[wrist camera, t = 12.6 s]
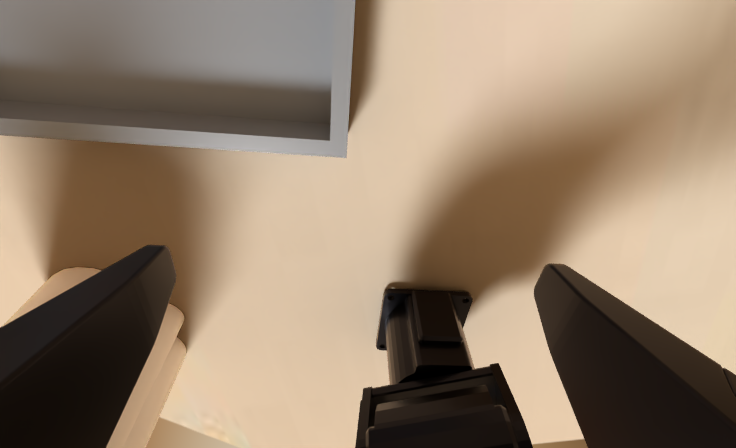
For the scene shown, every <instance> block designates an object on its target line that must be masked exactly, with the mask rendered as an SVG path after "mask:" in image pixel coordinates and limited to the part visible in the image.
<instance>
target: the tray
mask: <svg viewBox="0 0 736 448" xmlns="http://www.w3.org/2000/svg"><path fill="white" fill-rule="evenodd" d="M354 17H355V0H0V135H5V136H21V137H36V138H51V139H66V140H81V141H97V142H112V143H127V144H142V145H157V146H173V147H188V148H203V149H218V150H234V151H249V152H264V153H279V154H294V155H310V156H325V157H340V158H347V140H348V123H349V105H350V87H351V70H352V52H353V35H354Z"/></svg>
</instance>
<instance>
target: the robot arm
mask: <svg viewBox="0 0 736 448" xmlns="http://www.w3.org/2000/svg"><path fill="white" fill-rule="evenodd" d="M175 282H176V270H175V267H174V263H173V260H172V256H171V253H170V250H169V248H168V247H167V246H164V245H147V246H145V247H143V248H141V249H139V250H138V251H136V252H134V253H132V254H130V255H129V256H127V257H125V258H123V259H122V260H120V261H118V262H116V263H114V264H113V265H111V266H109V267H107V268H105V269H104V270H102V271H100V272H98V273H97V274H95V275H93V276H91V277H89V278H88V279H86V280H84V281H82V282H81V283H79V284H77V285H75V286H73V287H72V288H70V289H68V290H66V291H65V292H63V293H61V294H59V295H57V296H56V297H54V298H52V299H50V300H49V301H47V302H45V303H43V304H41V305H40V306H38V307H36V308H34V309H32V310H31V311H29V312H27V313H25V314H24V315H22V316H20V317H18V318H16V319H15V320H13V321H11V322H9V323H7V324H6V325H4V326H2V327H0V448H106V447H107V445H108V443H109V440H110V438H111V436H112V434H113V432H114V430H115V428H116V425H117V423H118V421H119V419H120V417H121V415H122V413H123V410H124V408H125V406H126V404H127V402H128V400H129V398H130V396H131V393H132V391H133V389H134V387H135V385H136V383H137V381H138V378H139V376H140V374H141V372H142V370H143V368H144V366H145V363H146V361H147V359H148V357H149V355H150V353H151V351H152V348H153V346H154V344H155V341H156V339H157V336H158V333H159V330H160V327H161V324H162V321H163V318H164V315H165V312H166V309H167V306H168V303H169V300H170V297H171V294H172V291H173V288H174V285H175ZM391 295H392V296H391ZM534 297H535V301H536V305H537V308H538V312H539V315H540V319H541V322H542V326H543V330H544V333H545V337H546V340H547V344H548V347H549V350H550V353H551V356H552V358H553V361H554V364H555V366H556V369H557V371H558V374H559V376H560V379H561V381H562V384H563V386H564V389H565V391H566V394H567V396H568V399H569V401H570V404H571V406H572V409H573V411H574V414H575V416H576V419H577V421H578V424H579V426H580V429H581V431H582V434H583V436H584V439H585V441H586V444H587V446H588V448H736V375H735V374H733V373H732V372H730V371H729V370H727V369H725V368H722V367H721V365H719V364H718V363H716V362H715V361H713V360H712V359H710V358H709V357H707V356H706V355H704V354H702V353H701V352H699V351H698V350H696V349H695V348H693V347H692V346H690V345H689V344H687V343H685V342H684V341H682V340H681V339H679V338H678V337H676V336H675V335H673V334H672V333H670V332H668V331H667V330H665V329H664V328H662V327H661V326H659V325H658V324H656V323H655V322H653V321H651V320H650V319H648V318H647V317H645V316H644V315H642V314H641V313H639V312H638V311H636V310H634V309H633V308H631V307H630V306H628V305H627V304H625V303H624V302H622V301H621V300H619V299H617V298H616V297H614V296H613V295H611V294H610V293H608V292H607V291H605V290H604V289H602V288H600V287H599V286H597V285H596V284H594V283H593V282H591V281H590V280H588V279H587V278H585V277H584V276H582V275H580V274H579V273H577V272H576V271H574V270H573V269H571V268H570V267H568V266H566V265H564V264H547V265H546V266H545V267H544V269H543V271H542V273H541V275H540V277H539V279H538V281H537V283H536V285H535V288H534ZM465 298H466V299H465ZM471 303H472V297H471V294H470V293H468V292H455V291H429V290H404V289H388V290H386V291H385V292H384V294H383V300H382V307H381V313H380V320H379V326H378V333H377V339H376V347H377V349H379V350H387V357H388V369H389V381H390V385H387V386H381V387H376V388H372V387H368V388H364V389H363V397H362V400H361V403H360V412H359V421H358V430H357V439H356V447H355V448H533V447H532V444H531V440H530V437H529V434H528V431H527V429H526V426H525V423H524V421H523V418H522V416H521V413H520V411H519V409H518V406H517V404H516V402H515V400H514V397H513V395H512V393H511V391H510V388H509V386H508V384H507V381H506V379H505V377H504V375H503V372H502V370H501V368H500V366H499V363H496V364H490V366H488V367H483V368H477V369H475V368H474V365H473V362H472V358H471V355H470V352H469V348H468V345H467V342H466V338H465V335H464V332H463V326H464V323H465V320H466V318H467V315H468V312H469V309H470V306H471Z"/></svg>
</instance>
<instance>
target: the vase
mask: <svg viewBox="0 0 736 448" xmlns="http://www.w3.org/2000/svg"><path fill="white" fill-rule="evenodd" d="M100 271H102V270H98V269H95V268H85V267H74V268H68V269H63V270H61V271H59V272H57V273H55V274H54V275H52V276H51V277H50V278H49V279H48V280H47V281H46V282H45V283H44V284H43V285H42V286H41V287H40V288H39V289H38V290H37V291H36V292H35V294H34V295H33V296H32V297H31V298H30V299H29V300H28V301H27V302H26V303H25V304H24V305H23V306H22V307H21V308H20V309H19V310H18V311H17V312H16V313H15V314H14V315H13V316H12V317H11V318H10V319H9V320H8V321H7V322H6V323H5V324H4V325H6V324H7V323H9V322H11V321H13V320H15V319H16V318H18V317H20V316H22V315H24V314H25V313H27V312H29V311H31V310H32V309H34V308H36V307H38V306H40V305H41V304H43V303H45V302H47V301H49V300H50V299H52V298H54V297H56V296H57V295H59V294H61V293H63V292H65V291H66V290H68V289H70V288H72V287H73V286H75V285H77V284H79V283H81V282H82V281H84V280H86V279H88V278H89V277H91V276H93V275H95V274H97V273H98V272H100ZM183 322H184V315H183V313H182V312H181V311H180V310H179V309H178V308H177V307H175V306H173V305H171V304H169V303H168V306H167V309H166V312H165V315H164V318H163V321H162V324H161V327H160V330H159V333H158V336H157V339H156V341H155V344H154V346H153V348H152V351H151V353H150V355H149V357H148V359H147V361H146V363H145V366H144V368H143V370H142V372H141V374H140V376H139V378H138V381H137V383H136V385H135V387H134V389H133V391H132V393H131V396H130V398H129V400H128V402H127V404H126V406H125V408H124V410H123V413H122V415H121V417H120V419H119V421H118V423H117V425H116V428H115V430H114V432H113V434H112V436H111V438H110V440H109V443H108V445H107V447H106V448H146V446H147V443H148V441H149V439H150V436H151V434H152V432H153V430H154V427H155V425H156V422H157V420H158V418H159V416H160V413H161V411H162V409H163V407H164V404H165V402H166V400H167V397H168V395H169V393H170V390H171V388H172V386H173V384H174V381H175V379H176V377H177V374H178V372H179V370H180V367H181V365H182V363H183V361H184V358H185V356H186V352H187V351H186V348H185V345H184V344H183V343H182V341H181V340H180V339H179V338H177V337H176V336H177V334H178V332H179V330H180V328H181V326H182V324H183ZM4 325H3V326H4Z"/></svg>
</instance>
